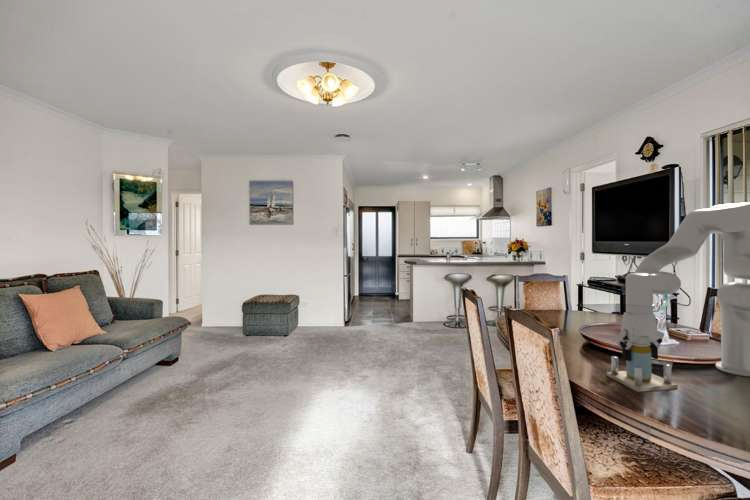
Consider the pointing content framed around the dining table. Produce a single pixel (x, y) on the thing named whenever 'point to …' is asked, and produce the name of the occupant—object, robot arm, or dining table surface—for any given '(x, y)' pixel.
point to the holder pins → (639, 372)
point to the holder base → (651, 385)
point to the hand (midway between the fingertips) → (640, 358)
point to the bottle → (640, 359)
